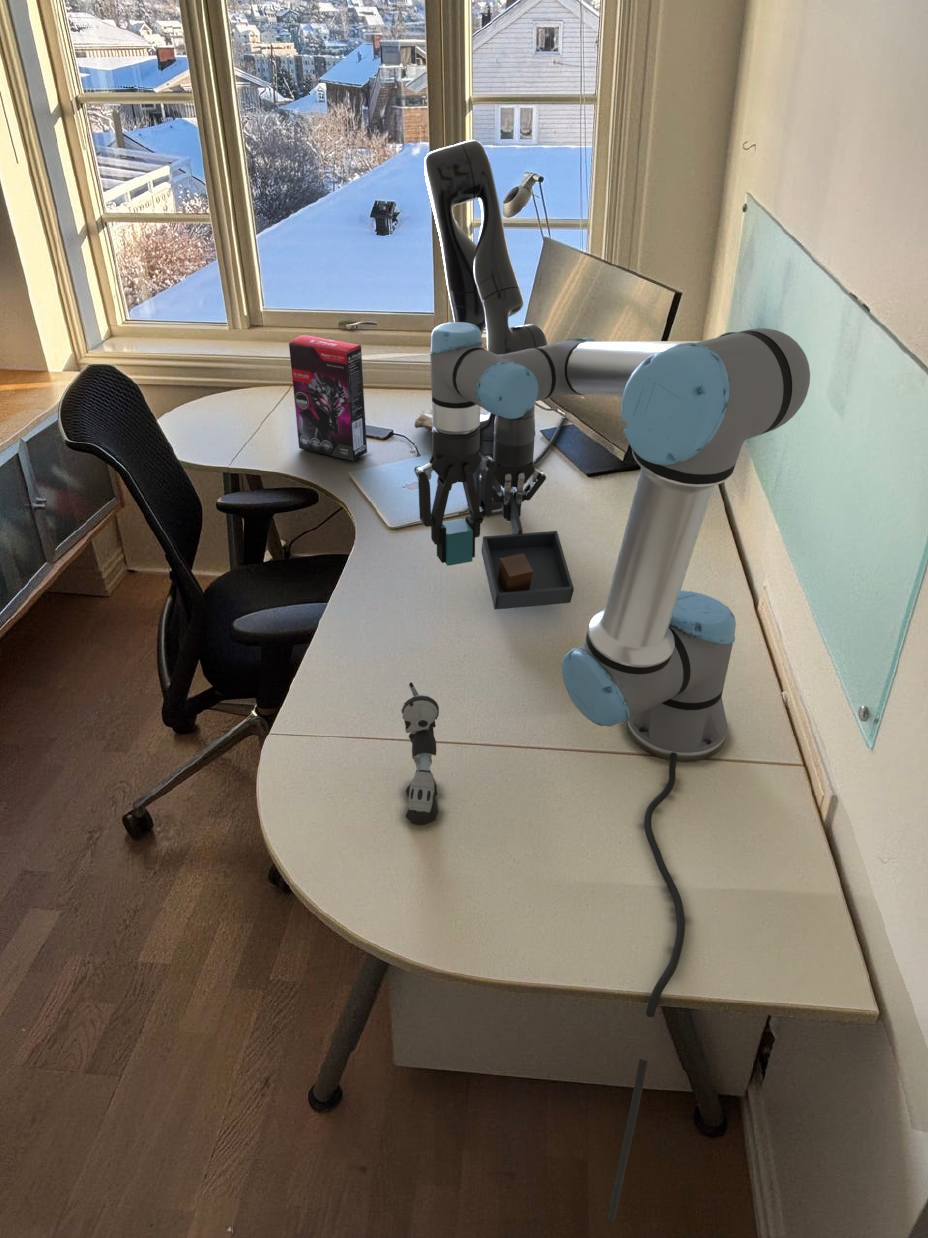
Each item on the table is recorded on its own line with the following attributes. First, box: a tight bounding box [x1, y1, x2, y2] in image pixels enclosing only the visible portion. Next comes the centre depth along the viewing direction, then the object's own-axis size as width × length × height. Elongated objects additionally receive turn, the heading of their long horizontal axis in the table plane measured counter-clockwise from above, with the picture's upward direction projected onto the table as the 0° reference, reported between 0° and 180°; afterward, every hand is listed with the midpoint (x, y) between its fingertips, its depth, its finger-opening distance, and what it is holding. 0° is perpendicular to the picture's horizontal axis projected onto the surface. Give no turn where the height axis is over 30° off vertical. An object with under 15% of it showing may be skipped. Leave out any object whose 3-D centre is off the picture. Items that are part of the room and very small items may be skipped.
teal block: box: [442, 518, 474, 567], centre depth 155 cm, size 4×4×6 cm
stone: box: [413, 409, 434, 434], centre depth 236 cm, size 21×15×6 cm
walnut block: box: [498, 553, 533, 592], centre depth 167 cm, size 4×4×6 cm
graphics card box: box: [288, 334, 368, 462], centre depth 223 cm, size 17×7×27 cm, turn 62°
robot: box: [401, 681, 440, 826], centre depth 124 cm, size 20×5×20 cm, turn 3°
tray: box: [481, 491, 575, 610], centre depth 173 cm, size 24×14×5 cm, turn 9°
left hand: (510, 519), depth 180 cm, fingers closed on tray, 1 cm apart
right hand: (455, 556), depth 157 cm, fingers closed on teal block, 4 cm apart
